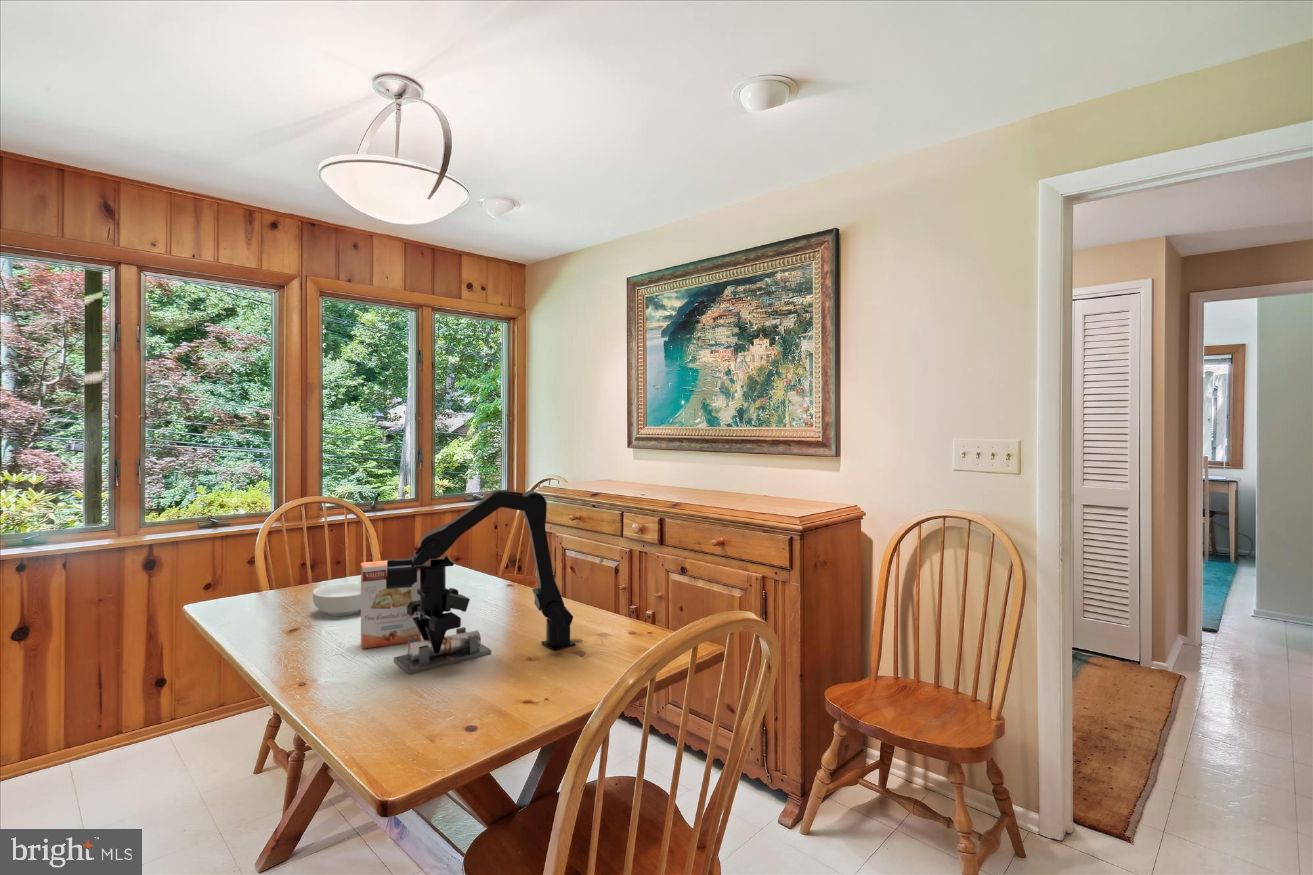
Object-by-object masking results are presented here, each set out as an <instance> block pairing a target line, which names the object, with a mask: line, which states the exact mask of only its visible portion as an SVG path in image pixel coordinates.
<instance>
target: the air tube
mask: <svg viewBox="0 0 1313 875" xmlns="http://www.w3.org/2000/svg"><path fill="white" fill-rule="evenodd" d="M475 634H477V635H478V647H480V644H482V639H481V638H482V636H481V634H480V631H479V630H478V629H476V630H473V631H471V630H470V631H467V632H466V633H460V634H451V635H445V636H444V639H443V642H442V645H441V649H440V652H439V653H434V651H433V648H432V646H431V643H430V640H420V641H418V642H413V643H410V644H409V656H410V660H411V661H413V660H418V659H419V647H422V646H426V645H428V646H429V657H432V656H437V655H442V654H448V653H452V652H457V651H461V650H466V649H468V636H470V635H475Z"/></svg>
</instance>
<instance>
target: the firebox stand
mask: <svg viewBox="0 0 1313 875" xmlns="http://www.w3.org/2000/svg"><path fill="white" fill-rule="evenodd" d="M455 629H456V634H460V633H466V631H467V630H466V629H467V628H466V627H465V626H463V627H459V628H455ZM413 642H418V638H417V637H415V638H411V639H408V642H407V654H404V655H398V656H394V657H393V662H394V664H396V665H397V666H398V667H399V668H400V669H401V670H402V671H404V672H405V673H406V674H407V675H413V674H417V673H420V672H424V671H429V670H433V669H437V668H440V667H445V666H448V665H452V664H456V663H460V662H465V661H468V660H472V659H477V658H481V657H484V656H488V655H492V649H490V648H489V647H487V646H485V645H484V644H482V643H481V644H480V647H478V635H477V634H475V635H470V636H468V649H466V650H461V651H457V652H452V653H448V654H442V655H437V656H432V657H429V646H428V645H426V646H422V647H419V659H418V660H413V661H411V660H410V656H409V644H410V643H413Z"/></svg>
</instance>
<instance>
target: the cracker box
mask: <svg viewBox="0 0 1313 875" xmlns="http://www.w3.org/2000/svg"><path fill="white" fill-rule="evenodd" d="M387 560H388V559H387ZM387 560H376V561H365V562H363V561H362V562H361V563H360V583H361V610H360V643H361V649H363V650H365V649H371V648H377V647H378V648H379V647H384V646H393V645H397V644H398V645H399V644H406V643H407V644H408V639H411V638H415V637H417V638H418V641H422V640H421V638H422V636H421V634H420V632H419V630H418V628H417V626H416V624H415V622H414V621H413V618H415V617H416V612H414V615H413V616H410V615H409V614H407V605H408V604H409V603H410V602H412V601H418V600H420V595H419V594H417V589H420V568H418V569H417V582H416V583H415V582H414V585H412V587H408V588H395V589H386V574H387ZM414 567H415V565H414Z"/></svg>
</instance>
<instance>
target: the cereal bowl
mask: <svg viewBox="0 0 1313 875" xmlns="http://www.w3.org/2000/svg"><path fill="white" fill-rule="evenodd" d="M312 601H313V605H314V606H315V607H316V609H318V610H319V611H320V612H323V613H327V614H329V615H330V616H333V617H344V616H350V615H354V614H357V613H359V611H361V582H356V581H355V582H341V583H340V582H339V583H332V584H327V585H323V586H319V587H318V588H317V587H316V588H315V589H314V590H313V591H312Z"/></svg>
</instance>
